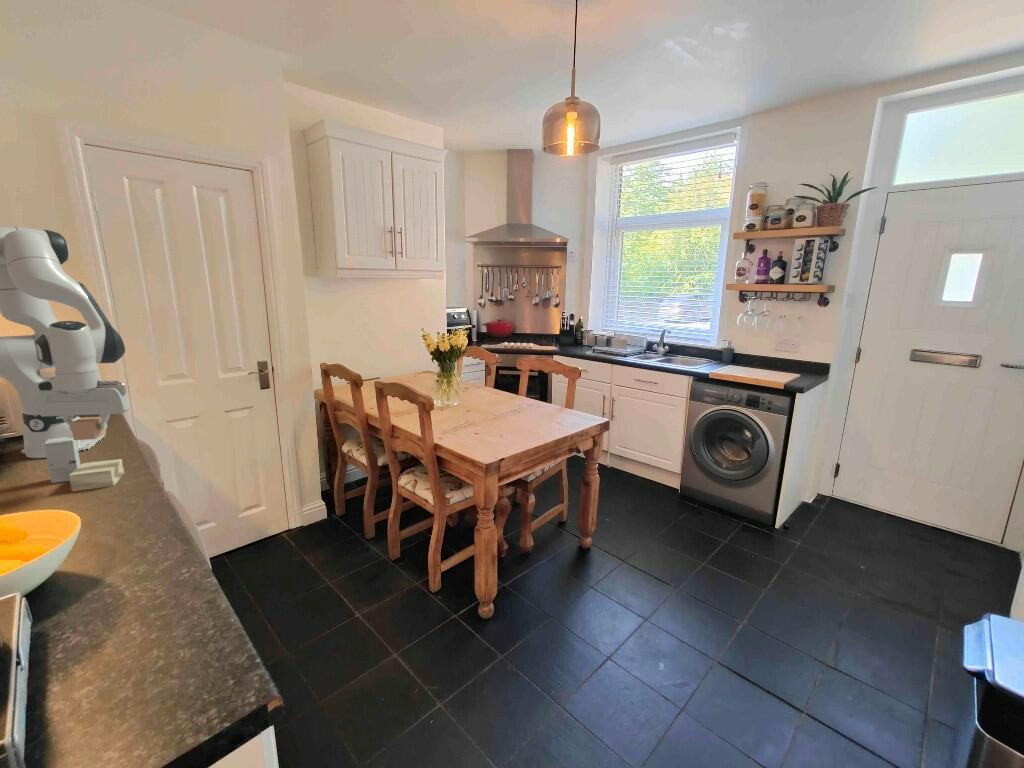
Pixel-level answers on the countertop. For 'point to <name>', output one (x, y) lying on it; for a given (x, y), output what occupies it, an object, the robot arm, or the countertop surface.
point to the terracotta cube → (86, 428)
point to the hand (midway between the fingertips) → (89, 429)
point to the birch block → (96, 475)
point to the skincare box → (62, 458)
